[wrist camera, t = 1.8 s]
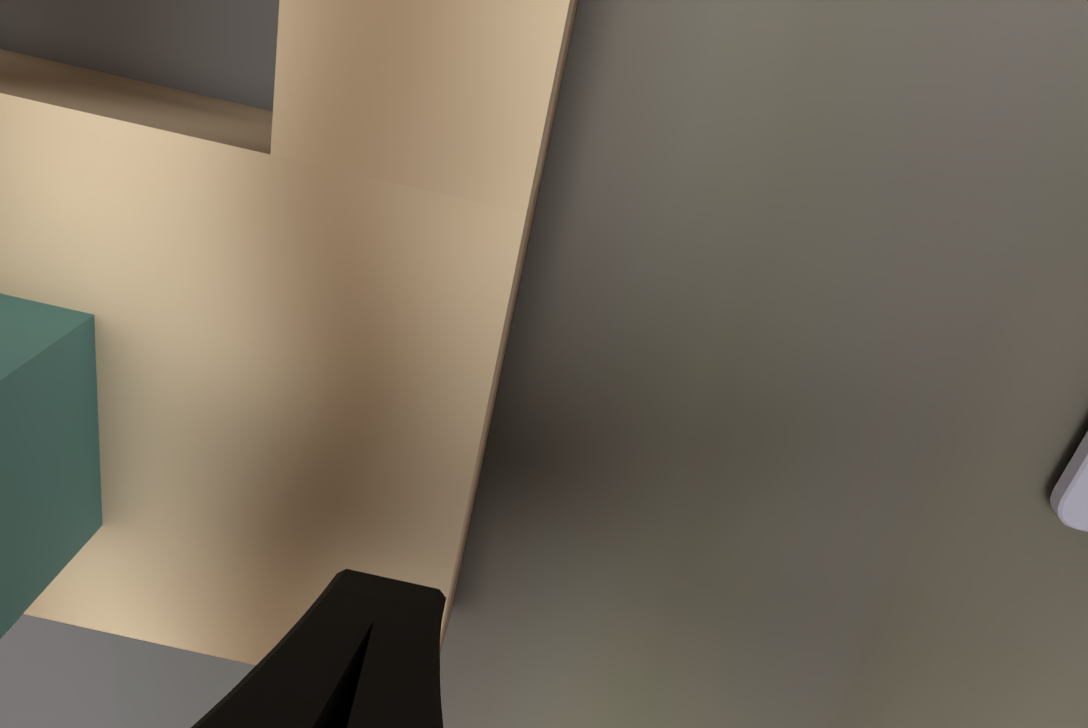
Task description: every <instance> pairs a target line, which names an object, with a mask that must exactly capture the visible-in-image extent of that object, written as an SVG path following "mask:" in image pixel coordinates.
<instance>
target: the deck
mask: <svg viewBox="0 0 1088 728" xmlns="http://www.w3.org/2000/svg"><path fill="white" fill-rule="evenodd" d="M577 4H578V0H0V293H1V294H5V295H10V296H14V297H19V298H23V299H27V300H32V301H36V302H41V303H45V304H50V305H54V306H58V307H63V308H67V309H72V310H76V311H81V312H85V313H89V314H94V323H95V349H96V374H97V399H98V425H99V450H100V475H101V501H102V526H101V527H100V529H99V530H98V531H97V532H96V533H95V534H94V535H93V536H92V537H91V539H90V540H89V541H88V542H87V543H86V544H85V545H84V546H83V547H82V549H81V550H80V551H79V552H78V553H77V554H76V555H75V556H74V557H73V559H72V560H71V561H70V562H69V563H68V564H67V565H66V566H65V567H64V569H63V570H62V571H61V572H60V573H59V574H58V575H57V576H56V578H55V579H54V580H53V581H52V582H51V583H50V584H49V585H48V586H47V588H46V589H45V590H44V591H43V592H42V593H41V594H40V595H39V596H38V598H37V599H36V600H35V601H34V602H33V603H32V604H31V605H30V606H29V608H28V609H27V610H26V611H25V612H24V613H23V614H26V615H31V616H36V617H40V618H45V619H49V620H54V621H58V622H63V623H67V624H72V625H76V626H81V627H85V628H90V629H94V630H99V631H103V632H108V633H112V634H117V635H121V636H126V637H130V638H135V639H139V640H144V641H149V642H153V643H158V644H162V645H167V646H171V647H176V648H180V649H185V650H189V651H194V652H198V653H203V654H207V655H212V656H216V657H221V658H225V659H230V660H234V661H239V662H243V663H248V664H253V665H257V664H258V663H259V662H260V661H261V660H262V659H263V658H264V657H265V656H266V655H267V654H268V653H269V652H270V651H271V650H272V649H273V648H274V647H275V646H276V645H277V644H278V643H279V641H280V640H281V639H282V638H283V637H284V636H285V635H286V634H287V633H288V632H289V630H290V629H291V628H292V627H293V626H294V625H295V624H296V623H297V622H298V621H299V619H300V618H301V617H302V616H303V615H304V614H305V612H306V611H307V610H308V609H309V608H310V607H311V605H312V604H313V603H314V602H315V601H316V599H317V598H318V597H319V596H320V594H321V593H322V592H323V591H324V590H325V588H326V587H327V586H328V584H329V583H330V582H331V580H332V579H333V578H334V576H335V575H336V574H337V573H339V572H341V571H343V570H345V569H350V570H354V571H359V572H364V573H368V574H373V575H377V576H382V577H386V578H391V579H396V580H400V581H405V582H409V583H414V584H418V585H423V586H428V587H432V588H437V589H440V590H441V592H442V593H443V594H444V596H445V597H446V602H445V607H444V612H443V617H442V623H441V634H440V652H441V648H442V644H443V640H444V636H445V633H446V629H447V625H448V621H449V618H450V614H451V610H452V606H453V601H454V596H455V591H456V587H457V582H458V577H459V572H460V567H461V562H462V558H463V553H464V548H465V543H466V538H467V534H468V529H469V524H470V519H471V514H472V510H473V505H474V500H475V495H476V490H477V485H478V481H479V476H480V471H481V466H482V461H483V457H484V452H485V447H486V442H487V437H488V433H489V428H490V423H491V418H492V413H493V409H494V404H495V399H496V394H497V389H498V384H499V380H500V375H501V370H502V365H503V360H504V356H505V351H506V346H507V341H508V336H509V332H510V327H511V322H512V317H513V312H514V307H515V303H516V298H517V293H518V288H519V283H520V279H521V274H522V269H523V264H524V259H525V255H526V250H527V245H528V240H529V235H530V230H531V226H532V221H533V216H534V211H535V206H536V202H537V197H538V192H539V187H540V182H541V178H542V173H543V168H544V163H545V158H546V154H547V149H548V144H549V139H550V134H551V129H552V125H553V120H554V115H555V110H556V105H557V101H558V96H559V91H560V86H561V81H562V77H563V72H564V67H565V62H566V57H567V52H568V48H569V43H570V38H571V33H572V28H573V24H574V19H575V14H576V9H577Z"/></svg>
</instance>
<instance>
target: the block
mask: <svg viewBox="0 0 1088 728" xmlns="http://www.w3.org/2000/svg"><path fill="white" fill-rule="evenodd" d="M101 526H102V501H101V475H100V450H99V425H98V399H97V374H96V349H95V323H94V314H89V313H85V312H81V311H76V310H72V309H67V308H63V307H58V306H54V305H50V304H45V303H41V302H36V301H32V300H27V299H23V298H19V297H14V296H10V295H5V294H1V293H0V639H1V638H2V636H3V635H4V634H5V633H6V632H7V631H8V630H9V629H10V628H11V626H12V625H13V624H14V623H15V622H16V621H17V620H18V619H19V618H20V616H21V615H22V614H23V613H24V612H25V611H26V610H27V609H28V608H29V606H30V605H31V604H32V603H33V602H34V601H35V600H36V599H37V598H38V596H39V595H40V594H41V593H42V592H43V591H44V590H45V589H46V588H47V586H48V585H49V584H50V583H51V582H52V581H53V580H54V579H55V578H56V576H57V575H58V574H59V573H60V572H61V571H62V570H63V569H64V567H65V566H66V565H67V564H68V563H69V562H70V561H71V560H72V559H73V557H74V556H75V555H76V554H77V553H78V552H79V551H80V550H81V549H82V547H83V546H84V545H85V544H86V543H87V542H88V541H89V540H90V539H91V537H92V536H93V535H94V534H95V533H96V532H97V531H98V530H99V529H100V527H101Z"/></svg>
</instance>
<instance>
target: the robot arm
mask: <svg viewBox="0 0 1088 728" xmlns="http://www.w3.org/2000/svg"><path fill="white" fill-rule="evenodd" d="M1050 503H1051V508H1052V509H1053V511H1054V512H1055V513H1056V515H1057V516H1058V517H1059V519H1060V520H1061V521H1062V522H1063V523H1064V524H1065V525H1067V526H1069V527H1071V528H1074V529H1077V530H1082V531H1086V532H1088V431H1087V433H1086V435H1085V436H1084V438H1083V440H1082V441H1081V443H1080V445H1079V446H1078V448H1077V450H1076V452H1075V453H1074V455H1073V457H1072V458H1071V460H1070V462H1069V464H1068V465H1067V467H1066V469H1065V470H1064V472H1063V474H1062V475H1061V477H1060V479H1059V481H1058V482H1057V484H1056V486H1055V487H1054V489H1053V491H1052V494H1051V497H1050ZM445 602H446V597H445V596H444V594H443V593H442V592H441V590H440V589H437V588H432V587H428V586H423V585H418V584H414V583H409V582H405V581H400V580H396V579H391V578H386V577H382V576H377V575H373V574H368V573H364V572H359V571H354V570H350V569H345V570H343V571H341V572H339V573H337V574H336V575H335V576H334V578H333V579H332V580H331V582H330V583H329V584H328V586H327V587H326V588H325V590H324V591H323V592H322V593H321V594H320V596H319V597H318V598H317V599H316V601H315V602H314V603H313V604H312V605H311V607H310V608H309V609H308V610H307V611H306V612H305V614H304V615H303V616H302V617H301V618H300V619H299V621H298V622H297V623H296V624H295V625H294V626H293V627H292V628H291V629H290V630H289V632H288V633H287V634H286V635H285V636H284V637H283V638H282V639H281V640H280V641H279V643H278V644H277V645H276V646H275V647H274V648H273V649H272V650H271V651H270V652H269V653H268V654H267V655H266V656H265V657H264V658H263V659H262V660H261V661H260V662H259V663H258V664H257V665H256V666H255V667H254V668H253V669H252V670H251V671H250V672H249V673H248V674H247V675H246V676H245V677H244V678H243V679H242V680H241V681H240V683H239V684H238V685H236V686H235V687H234V688H233V689H232V690H231V691H230V692H229V693H228V694H227V695H226V696H225V697H224V698H223V699H222V700H221V701H220V702H219V703H217V704H216V705H215V706H214V707H213V708H212V709H211V710H210V711H209V712H208V713H207V714H205V715H204V716H203V717H202V718H201V719H200V720H199V721H198V722H197V723H196V724H195V725H193V726H192V727H191V728H443V721H442V709H441V695H440V634H441V623H442V617H443V612H444V607H445Z"/></svg>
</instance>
